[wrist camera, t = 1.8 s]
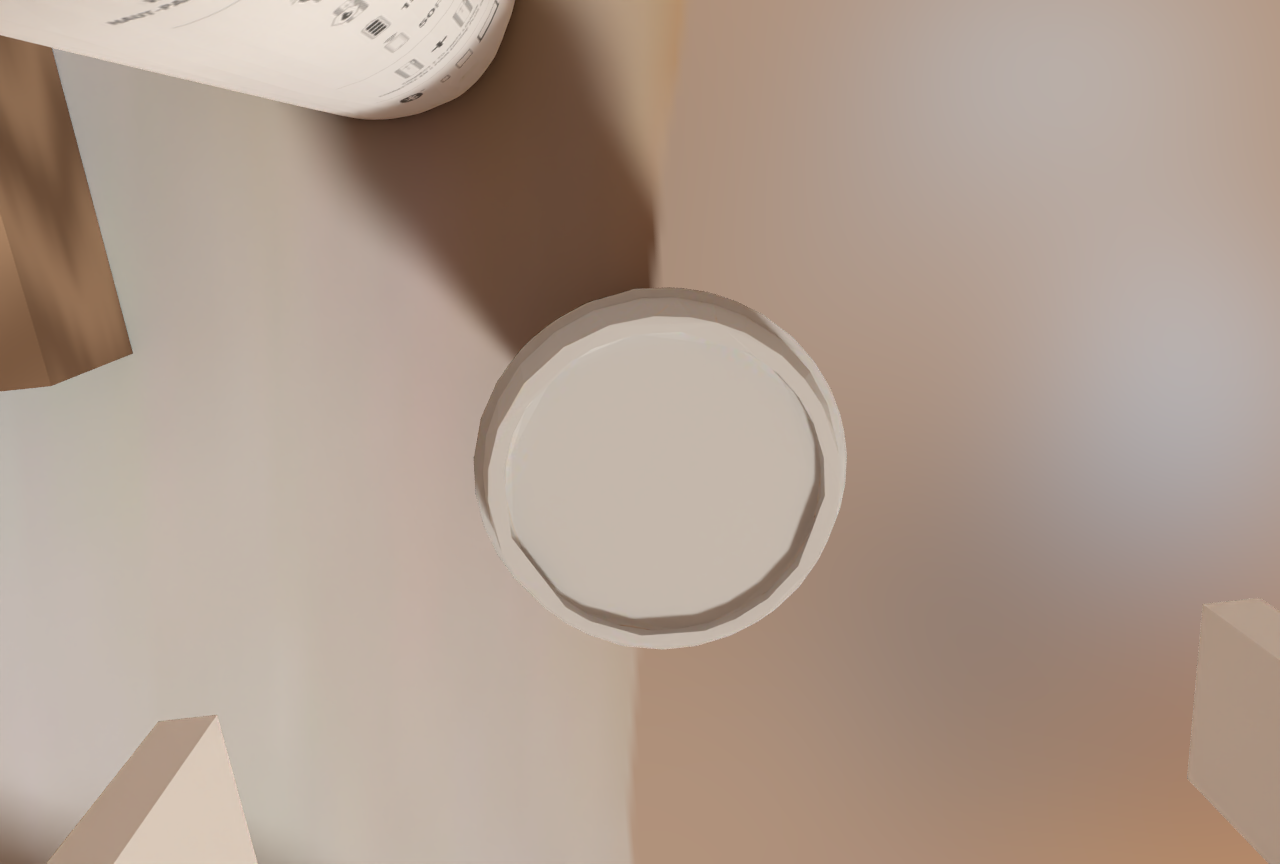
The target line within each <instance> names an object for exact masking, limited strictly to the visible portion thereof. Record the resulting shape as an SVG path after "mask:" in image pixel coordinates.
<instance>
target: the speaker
mask: <svg viewBox="0 0 1280 864" xmlns="http://www.w3.org/2000/svg"><path fill="white" fill-rule="evenodd" d="M514 3H515V0H0V35H2V36H6V37H10V38H14V39H18V40H23V41H27V42H31V43H35V44H39V45H43V46H47V47H52V48H56V49H60V50H64V51H68V52H72V53H76V54H80V55H85V56H89V57H93V58H97V59H101V60H105V61H109V62H114V63H118V64H122V65H126V66H130V67H135V68H139V69H143V70H147V71H152V72H156V73H160V74H164V75H169V76H173V77H177V78H181V79H186V80H190V81H194V82H198V83H203V84H207V85H211V86H216V87H220V88H224V89H228V90H233V91H237V92H241V93H245V94H250V95H254V96H258V97H262V98H267V99H271V100H275V101H280V102H284V103H288V104H292V105H297V106H301V107H305V108H310V109H314V110H319V111H323V112H327V113H332V114H336V115H341V116H346V117H352V118H357V119H373V120H377V119H393V118H400V117H406V116H411V115H415V114H419V113H422V112H425V111H427V110H430V109H432V108H435V107H437V106H439V105H442V104H444V103H446V102H449V101H451V100H453V99H455V98H457V97H459V96H460V95H462V94H463V93H464V92H466V91H467V90H468V89H469V88H470V87H471V86H472V85H473V84H474V83H476V82H477V80H478V79H479V78H480V77H481V76H482V74H483V73H484V72H485V71H486V69H487V68H488V66H489V65H490V63H491V62H492V60H493V59H494V57H495V55H496V53H497V51H498V48H499V46H500V44H501V41H502V39H503V36H504V33H505V31H506V28H507V25H508V23H509V20H510V17H511V14H512V11H513V7H514Z"/></svg>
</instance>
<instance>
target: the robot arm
mask: <svg viewBox="0 0 1280 864" xmlns="http://www.w3.org/2000/svg"><path fill="white" fill-rule="evenodd" d="M1187 779H1188V780H1189V781H1190V782H1191V783H1192V784H1193V785H1194V786H1195V787H1196V788H1197V789H1198V790H1199V791H1200V792H1201V793H1202V794H1203V795H1204V796H1205V797H1206V798H1207V800H1208V801H1209V802H1210V803H1211V804H1212V805H1213V806H1214V807H1215V808H1216V809H1217V810H1218V811H1219V812H1220V813H1221V814H1222V815H1223V816H1224V817H1225V818H1226V819H1227V820H1228V821H1229V823H1230V824H1231V825H1232V826H1233V827H1234V828H1235V829H1236V830H1237V831H1238V832H1239V833H1240V834H1241V835H1242V836H1243V837H1244V838H1245V839H1246V840H1247V841H1248V842H1249V843H1250V845H1251V846H1252V847H1253V848H1254V849H1255V850H1256V851H1257V852H1258V853H1259V854H1260V855H1261V856H1262V857H1263V858H1264V859H1265V860H1266V861H1267V862H1268V863H1269V864H1280V611H1278V610H1277V609H1276V608H1274V607H1273V606H1271V605H1269V604H1268V603H1267V602H1265V601H1263V600H1262V599H1261V598H1253V599H1244V600H1235V601H1226V602H1218V603H1208V604H1203V607H1202V618H1201V629H1200V640H1199V652H1198V663H1197V674H1196V686H1195V698H1194V708H1193V719H1192V730H1191V742H1190V753H1189V764H1188V775H1187ZM46 864H258V863H257V859H256V856H255V852H254V848H253V845H252V841H251V837H250V834H249V830H248V826H247V823H246V819H245V815H244V812H243V808H242V804H241V801H240V797H239V793H238V790H237V786H236V782H235V779H234V775H233V771H232V768H231V764H230V760H229V757H228V753H227V749H226V746H225V742H224V738H223V735H222V731H221V728H220V724H219V720H218V717H217V715H212V716H203V717H194V718H185V719H176V720H167V721H159V722H158V723H157V724H156V725H155V727H154V728H153V729H152V731H151V732H150V733H149V734H148V736H147V737H146V738H145V739H144V741H143V742H142V743H141V744H140V746H139V747H138V748H137V749H136V751H135V752H134V753H133V755H132V756H131V757H130V758H129V760H128V761H127V762H126V763H125V765H124V766H123V767H122V768H121V770H120V771H119V772H118V773H117V775H116V776H115V777H114V779H113V780H112V781H111V782H110V784H109V785H108V786H107V787H106V789H105V790H104V791H103V792H102V794H101V795H100V796H99V798H98V799H97V800H96V801H95V803H94V804H93V805H92V806H91V808H90V809H89V810H88V811H87V813H86V814H85V815H84V816H83V818H82V819H81V820H80V822H79V823H78V824H77V825H76V827H75V828H74V829H73V830H72V832H71V833H70V834H69V835H68V837H67V838H66V839H65V840H64V842H63V843H62V844H61V846H60V847H59V848H58V849H57V851H56V852H55V853H54V854H53V856H52V857H51V858H50V859H49V861H48V862H47V863H46Z"/></svg>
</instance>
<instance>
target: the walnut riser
mask: <svg viewBox="0 0 1280 864" xmlns="http://www.w3.org/2000/svg"><path fill="white" fill-rule="evenodd" d="M130 354H133V352H132V349H131V345H130V341H129V337H128V334H127V330H126V326H125V322H124V319H123V315H122V311H121V307H120V303H119V300H118V296H117V292H116V288H115V285H114V281H113V277H112V273H111V270H110V266H109V262H108V258H107V255H106V251H105V247H104V243H103V240H102V236H101V232H100V228H99V224H98V221H97V217H96V213H95V209H94V206H93V202H92V198H91V194H90V191H89V187H88V183H87V179H86V176H85V172H84V168H83V164H82V161H81V157H80V153H79V149H78V145H77V142H76V138H75V134H74V130H73V127H72V123H71V119H70V115H69V112H68V108H67V104H66V100H65V97H64V93H63V89H62V85H61V82H60V78H59V74H58V70H57V66H56V63H55V59H54V55H53V51H52V48H51V47H47V46H43V45H39V44H35V43H31V42H27V41H23V40H18V39H14V38H10V37H6V36H2V35H0V391H8V390H17V389H27V388H36V387H45V386H52V385H55V384H57V383H60V382H62V381H65V380H67V379H70V378H72V377H75V376H77V375H80V374H82V373H85V372H87V371H90V370H92V369H95V368H97V367H100V366H102V365H105V364H107V363H110V362H112V361H115V360H117V359H120V358H122V357H125V356H128V355H130Z"/></svg>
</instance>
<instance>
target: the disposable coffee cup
mask: <svg viewBox="0 0 1280 864" xmlns="http://www.w3.org/2000/svg"><path fill="white" fill-rule="evenodd" d="M846 461H847V454H846V445H845V436H844V429H843V425H842V421H841V416H840V413H839V410H838V407H837V405H836V402H835V400H834V397H833V394H832V391H831V389H830V387H829V385H828V384H827V382H826V380H825V379H824V377H823V375H822V374H821V372H820V370H819V369H818V367H817V365H816V364H815V362H814V361H813V360H812V358H811V357H810V356H809V355H808V354H807V353H806V352H805V350H804V349H803V348H802V347H801V346H800V345H799V344H798V343H797V341H796V340H795V339H794V338H793V337H792V336H790V335H789V334H788V333H787V332H785V331H784V330H783V329H781V328H780V327H779V326H777V325H776V324H775V323H773V322H772V321H771V320H769V319H768V318H767V317H765V316H764V315H763V314H761V313H759V312H757V311H754V310H752V309H750V308H748V307H746V306H744V305H742V304H740V303H738V302H736V301H734V300H731V299H728V298H725V297H722V296H719V295H716V294H712V293H708V292H704V291H698V290H691V289H684V288H646V289H633V290H629V291H626V292H622V293H619V294H616V295H612V296H609V297H605V298H602V299H598V300H595V301H591V302H588V303H586V304H584V305H582V306H580V307H578V308H576V309H575V310H573V311H571V312H569V313H567V314H565V315H564V316H562V317H560V318H558V319H557V320H555V321H554V322H552V323H551V324H550V325H548V326H547V327H546V328H544V329H543V330H542V331H541V332H539V333H538V334H537V335H536V336H534V337H533V338H532V339H531V340H530V341H529V342H528V343H527V344H526V345H525V346H524V347H523V348H522V349H521V350H520V351H519V353H518V354H517V355H516V356H515V358H514V359H513V360H512V362H511V363H510V364H509V366H508V367H507V368H506V370H505V371H504V373H503V374H502V376H501V377H500V378H499V380H498V381H497V383H496V385H495V388H494V390H493V392H492V395H491V397H490V399H489V401H488V404H487V406H486V408H485V410H484V413H483V415H482V417H481V421H480V426H479V432H478V438H477V444H476V449H475V455H474V474H475V494H476V498H477V502H478V506H479V509H480V513H481V517H482V521H483V525H484V528H485V530H486V532H487V534H488V536H489V538H490V540H491V542H492V544H493V546H494V549H495V551H496V553H497V555H498V556H499V557H500V559H501V560H502V562H503V563H504V564H505V566H506V567H507V569H508V570H509V572H510V573H511V574H512V576H513V577H514V578H515V579H516V580H517V581H518V582H519V583H520V584H521V585H522V586H523V587H524V588H525V589H526V590H527V591H528V592H529V593H530V594H531V595H532V596H533V597H534V598H535V599H536V600H537V601H538V602H539V603H540V604H541V605H542V606H543V607H544V608H545V609H547V610H548V611H549V612H551V613H552V614H554V615H555V616H556V617H558V618H559V619H560V620H562V621H563V622H565V623H566V624H568V625H570V626H572V627H574V628H576V629H578V630H580V631H582V632H584V633H586V634H588V635H591V636H594V637H597V638H600V639H603V640H606V641H609V642H612V643H615V644H618V645H621V646H630V647H642V648H653V649H669V648H680V647H690V646H697V645H700V644H704V643H707V642H710V641H714V640H717V639H721V638H723V637H727V636H730V635H732V634H735V633H736V632H738V631H740V630H742V629H744V628H746V627H748V626H750V625H752V624H754V623H756V622H758V621H759V620H761V619H762V618H764V617H765V616H766V615H768V614H769V613H771V612H772V611H774V610H775V609H776V608H777V607H778V606H779V605H780V604H781V603H783V602H784V601H785V600H786V599H787V598H788V597H789V596H790V595H791V594H792V593H793V592H794V591H795V590H796V589H797V588H798V587H799V586H800V585H801V583H802V582H803V581H804V579H805V578H806V576H807V575H808V574H809V572H810V571H811V569H812V568H813V567H814V565H815V564H816V562H817V561H818V559H819V557H820V555H821V553H822V551H823V549H824V547H825V545H826V543H827V541H828V538H829V536H830V533H831V531H832V528H833V525H834V522H835V520H836V517H837V515H838V512H839V509H840V506H841V501H842V496H843V491H844V487H845V478H846Z"/></svg>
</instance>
